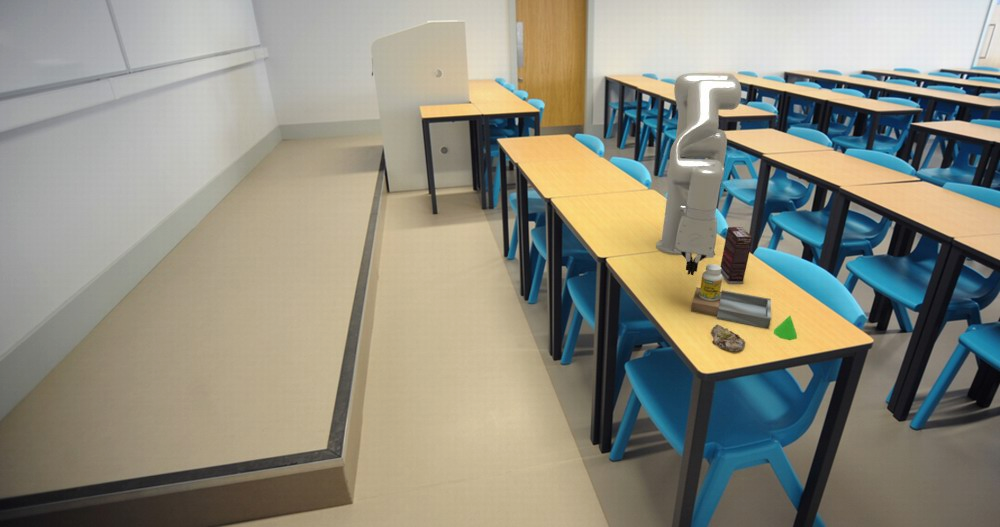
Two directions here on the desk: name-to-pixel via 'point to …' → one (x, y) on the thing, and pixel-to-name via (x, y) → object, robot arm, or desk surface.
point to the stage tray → (735, 308)
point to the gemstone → (786, 330)
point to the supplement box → (735, 255)
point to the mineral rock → (727, 339)
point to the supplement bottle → (711, 283)
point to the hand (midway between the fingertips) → (690, 272)
